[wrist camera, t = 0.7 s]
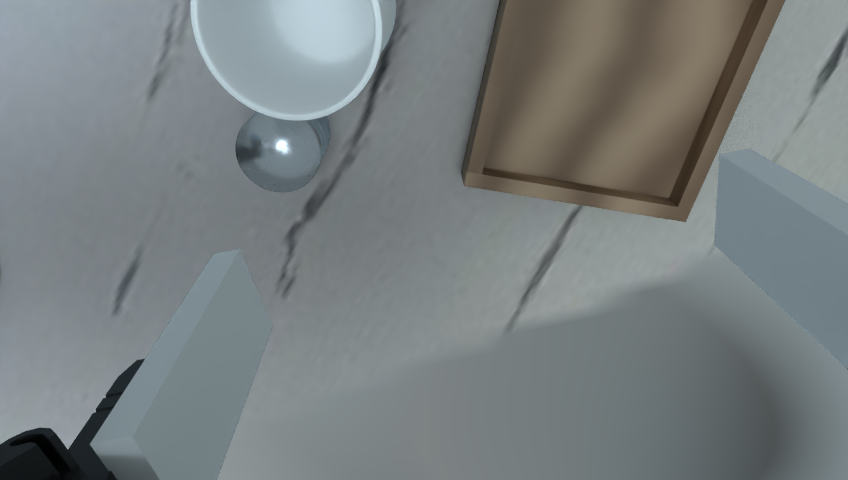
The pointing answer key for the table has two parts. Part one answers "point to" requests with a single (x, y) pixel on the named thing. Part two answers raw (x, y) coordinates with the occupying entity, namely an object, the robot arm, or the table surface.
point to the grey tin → (281, 151)
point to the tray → (612, 99)
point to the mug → (293, 51)
